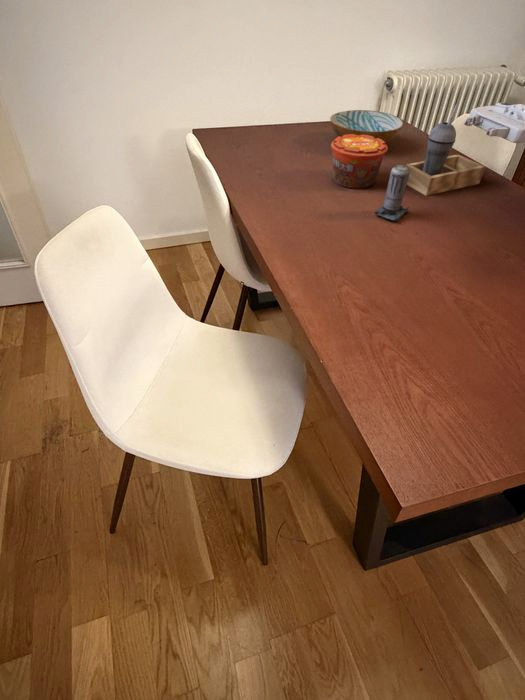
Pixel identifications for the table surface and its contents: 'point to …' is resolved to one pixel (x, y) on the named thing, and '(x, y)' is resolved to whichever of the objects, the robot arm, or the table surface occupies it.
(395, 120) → the bowl
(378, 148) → the food container
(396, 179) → the grey column figurine
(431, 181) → the wooden divided box
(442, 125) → the beverage cup
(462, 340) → the table surface
